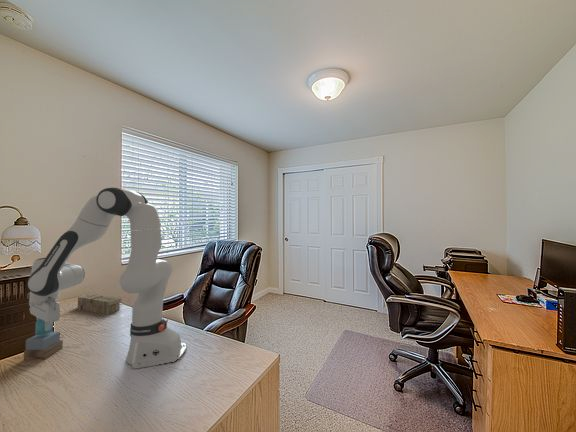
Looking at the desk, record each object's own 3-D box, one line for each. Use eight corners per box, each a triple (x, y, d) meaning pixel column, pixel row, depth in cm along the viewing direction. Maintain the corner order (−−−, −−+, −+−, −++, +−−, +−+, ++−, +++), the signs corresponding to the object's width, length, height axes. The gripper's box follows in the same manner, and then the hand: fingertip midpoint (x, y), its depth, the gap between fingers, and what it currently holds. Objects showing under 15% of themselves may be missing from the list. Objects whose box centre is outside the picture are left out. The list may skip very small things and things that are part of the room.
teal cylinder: (55, 329, 101) (56, 317, 102) (45, 334, 96) (45, 322, 97) (42, 329, 101) (43, 318, 101) (31, 335, 96) (32, 323, 96)
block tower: (75, 310, 149) (108, 315, 139) (76, 296, 149) (108, 300, 140) (89, 305, 156) (121, 310, 147) (89, 293, 156) (121, 296, 147)
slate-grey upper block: (59, 341, 102) (60, 331, 102) (43, 349, 95) (43, 339, 95) (43, 341, 102) (43, 331, 102) (25, 349, 95) (25, 339, 95)
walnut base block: (62, 349, 103) (62, 339, 103) (45, 359, 95) (46, 349, 95) (42, 349, 102) (42, 340, 102) (23, 360, 94) (24, 350, 94)
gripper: (66, 297, 97) (64, 331, 97) (46, 289, 106) (45, 320, 106) (44, 301, 91) (43, 337, 91) (25, 293, 101) (24, 325, 101)
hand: (44, 328), depth 99 cm, fingers closed on teal cylinder, 5 cm apart
